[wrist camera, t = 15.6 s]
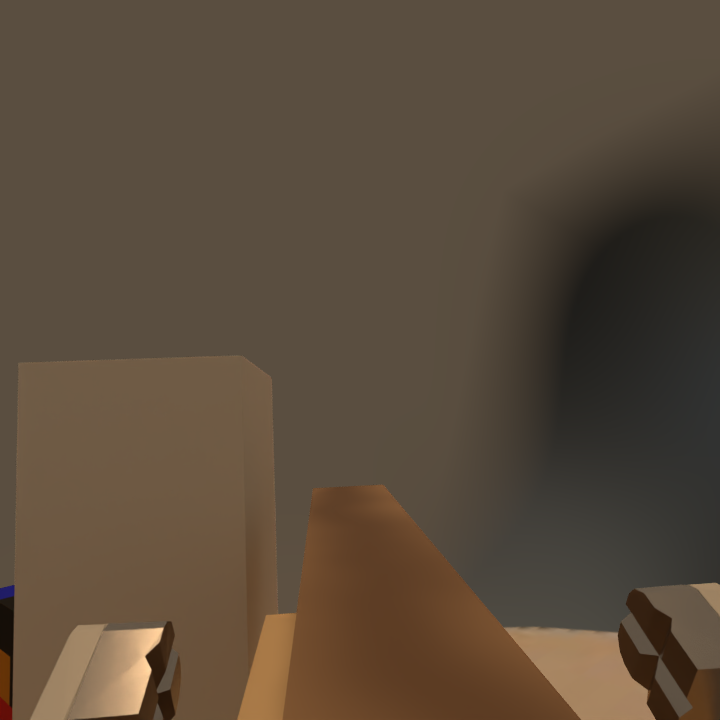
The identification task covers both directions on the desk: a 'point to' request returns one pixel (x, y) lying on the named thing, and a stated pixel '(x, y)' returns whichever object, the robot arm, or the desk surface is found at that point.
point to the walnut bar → (398, 627)
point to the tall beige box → (146, 516)
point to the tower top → (269, 670)
